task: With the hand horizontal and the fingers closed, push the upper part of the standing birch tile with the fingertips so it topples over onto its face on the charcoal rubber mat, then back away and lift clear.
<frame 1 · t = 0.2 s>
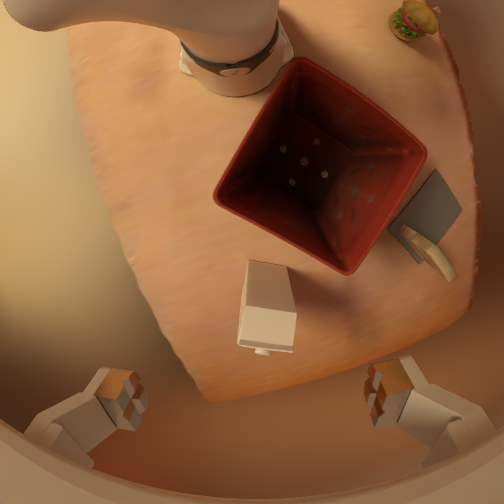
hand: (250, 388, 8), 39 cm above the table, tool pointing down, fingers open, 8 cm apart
milk carton: (263, 279, 51), on the table
tile: (411, 240, 47), resting on mat
mat: (428, 217, 45), on the table
hamburger: (400, 29, 31), on the table
plant pot: (304, 160, 43), on the table
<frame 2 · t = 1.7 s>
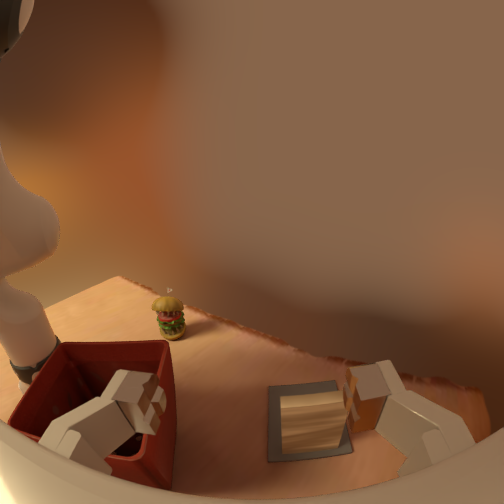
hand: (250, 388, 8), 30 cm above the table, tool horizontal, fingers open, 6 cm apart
tile: (309, 447, 31), resting on mat
mat: (306, 419, 36), on the table
hamburger: (175, 334, 63), on the table
plant pot: (136, 457, 29), on the table
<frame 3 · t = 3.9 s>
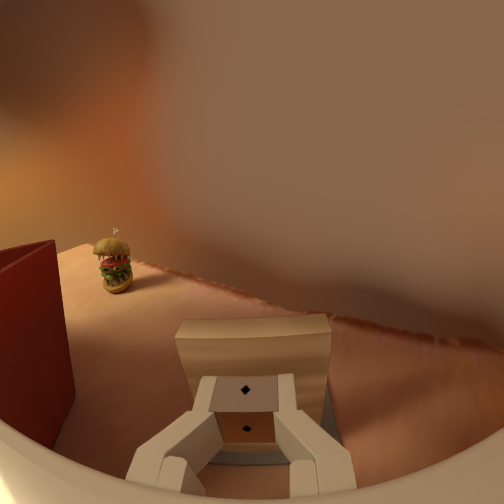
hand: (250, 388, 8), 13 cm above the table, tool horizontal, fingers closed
tile: (264, 443, 18), resting on mat
mat: (265, 395, 23), on the table
hamburger: (120, 288, 50), on the table
plant pot: (23, 421, 16), on the table
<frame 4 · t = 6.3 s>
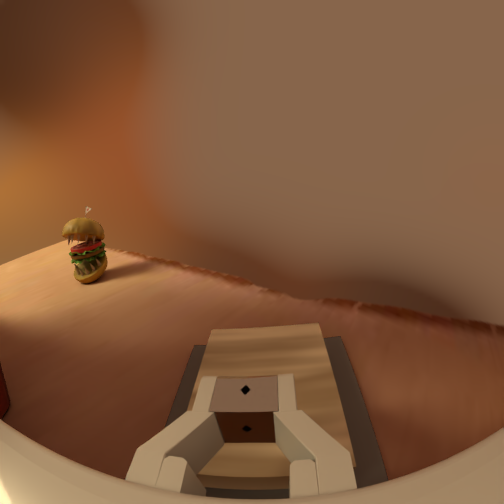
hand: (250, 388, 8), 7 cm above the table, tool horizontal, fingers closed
tile: (262, 483, 8), point 2 cm above the table, tilted 90°, touching mat
mat: (266, 425, 13), on the table
hamburger: (94, 278, 40), on the table
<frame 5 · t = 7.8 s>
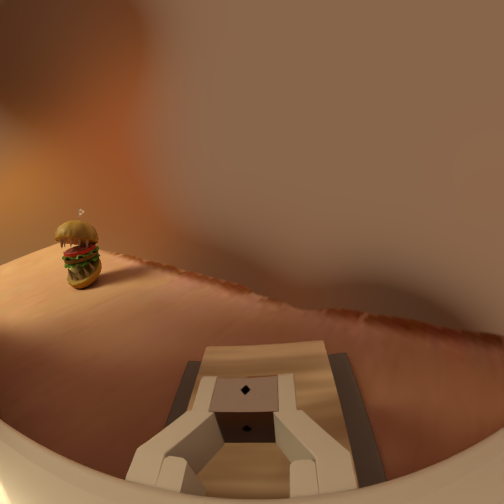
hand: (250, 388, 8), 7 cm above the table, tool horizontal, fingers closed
mat: (265, 454, 11), on the table
hamburger: (88, 283, 38), on the table
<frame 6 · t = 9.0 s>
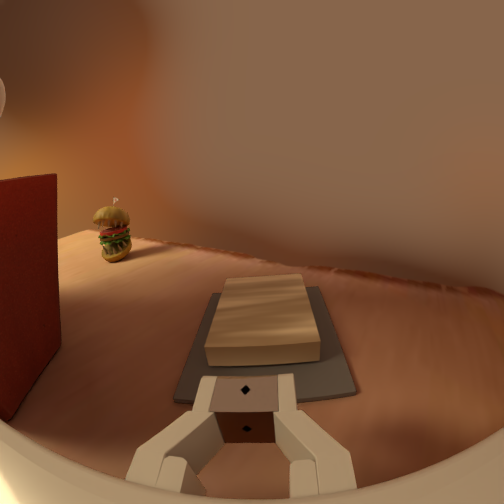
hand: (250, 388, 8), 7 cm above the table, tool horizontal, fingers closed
tile: (262, 355, 18), point 2 cm above the table, tilted 90°, touching mat
mat: (264, 334, 23), on the table
hamburger: (119, 258, 50), on the table
plant pot: (4, 372, 16), on the table
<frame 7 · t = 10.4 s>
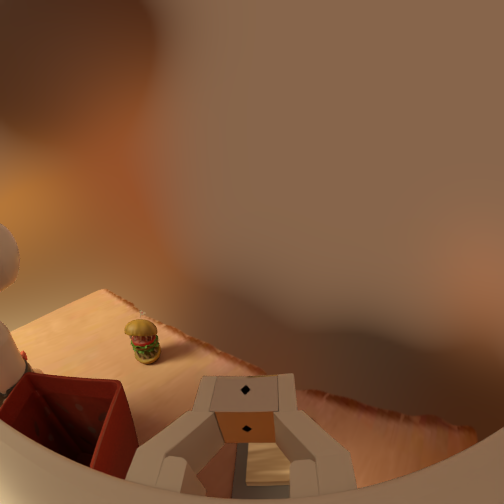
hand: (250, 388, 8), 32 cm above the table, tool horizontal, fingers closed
tile: (276, 483, 26), point 2 cm above the table, tilted 90°, touching mat
mat: (276, 461, 31), on the table
hamburger: (150, 357, 57), on the table
plant pot: (102, 486, 24), on the table
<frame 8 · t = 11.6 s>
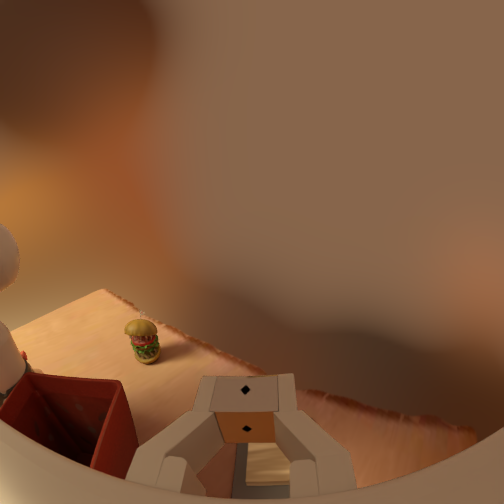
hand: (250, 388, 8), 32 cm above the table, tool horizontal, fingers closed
tile: (276, 483, 26), point 2 cm above the table, tilted 90°, touching mat
mat: (276, 461, 31), on the table
hamburger: (150, 357, 57), on the table
plant pot: (102, 485, 24), on the table
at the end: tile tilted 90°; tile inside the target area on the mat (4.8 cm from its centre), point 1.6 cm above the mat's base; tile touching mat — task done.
